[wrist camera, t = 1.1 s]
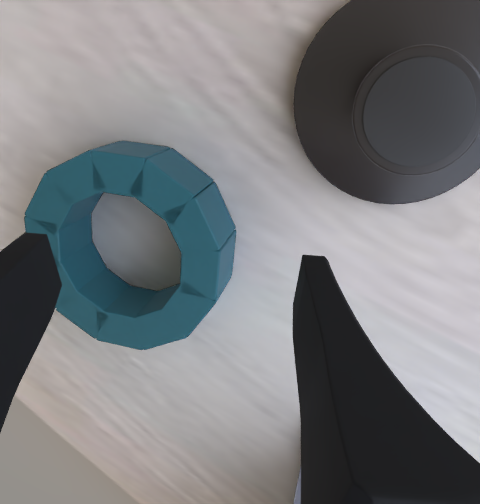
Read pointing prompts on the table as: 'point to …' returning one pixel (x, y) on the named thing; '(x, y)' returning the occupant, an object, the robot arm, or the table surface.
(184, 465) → the table surface
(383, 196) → the dark grey round knob
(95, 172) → the ring
